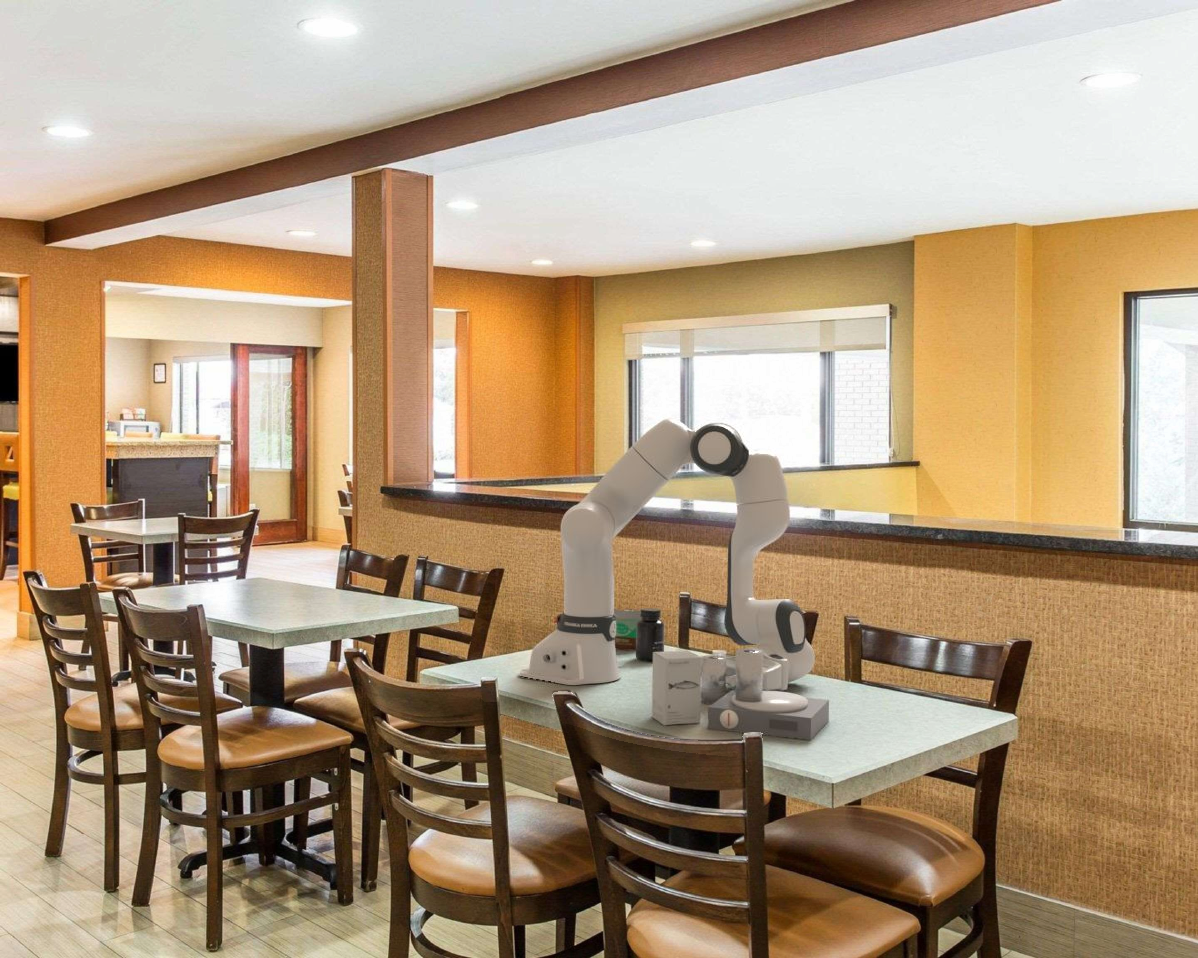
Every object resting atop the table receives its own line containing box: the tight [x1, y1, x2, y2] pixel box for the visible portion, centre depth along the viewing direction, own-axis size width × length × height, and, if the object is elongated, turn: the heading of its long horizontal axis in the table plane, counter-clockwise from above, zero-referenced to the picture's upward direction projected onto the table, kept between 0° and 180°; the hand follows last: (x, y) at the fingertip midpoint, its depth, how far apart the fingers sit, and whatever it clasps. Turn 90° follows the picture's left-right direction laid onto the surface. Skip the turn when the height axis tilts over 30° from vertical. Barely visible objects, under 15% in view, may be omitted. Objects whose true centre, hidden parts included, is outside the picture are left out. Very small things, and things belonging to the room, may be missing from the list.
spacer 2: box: [734, 648, 764, 702], centre depth 210 cm, size 5×5×9 cm
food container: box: [614, 608, 641, 651], centre depth 285 cm, size 12×6×10 cm, turn 71°
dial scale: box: [707, 689, 830, 741], centre depth 211 cm, size 19×15×5 cm
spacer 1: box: [701, 654, 727, 706], centre depth 229 cm, size 5×5×9 cm
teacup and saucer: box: [712, 649, 727, 656], centre depth 264 cm, size 9×8×4 cm
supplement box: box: [651, 650, 702, 727], centre depth 214 cm, size 7×7×13 cm
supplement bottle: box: [635, 607, 666, 662], centre depth 271 cm, size 7×7×12 cm
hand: (710, 676), depth 228 cm, fingers open, 8 cm apart
